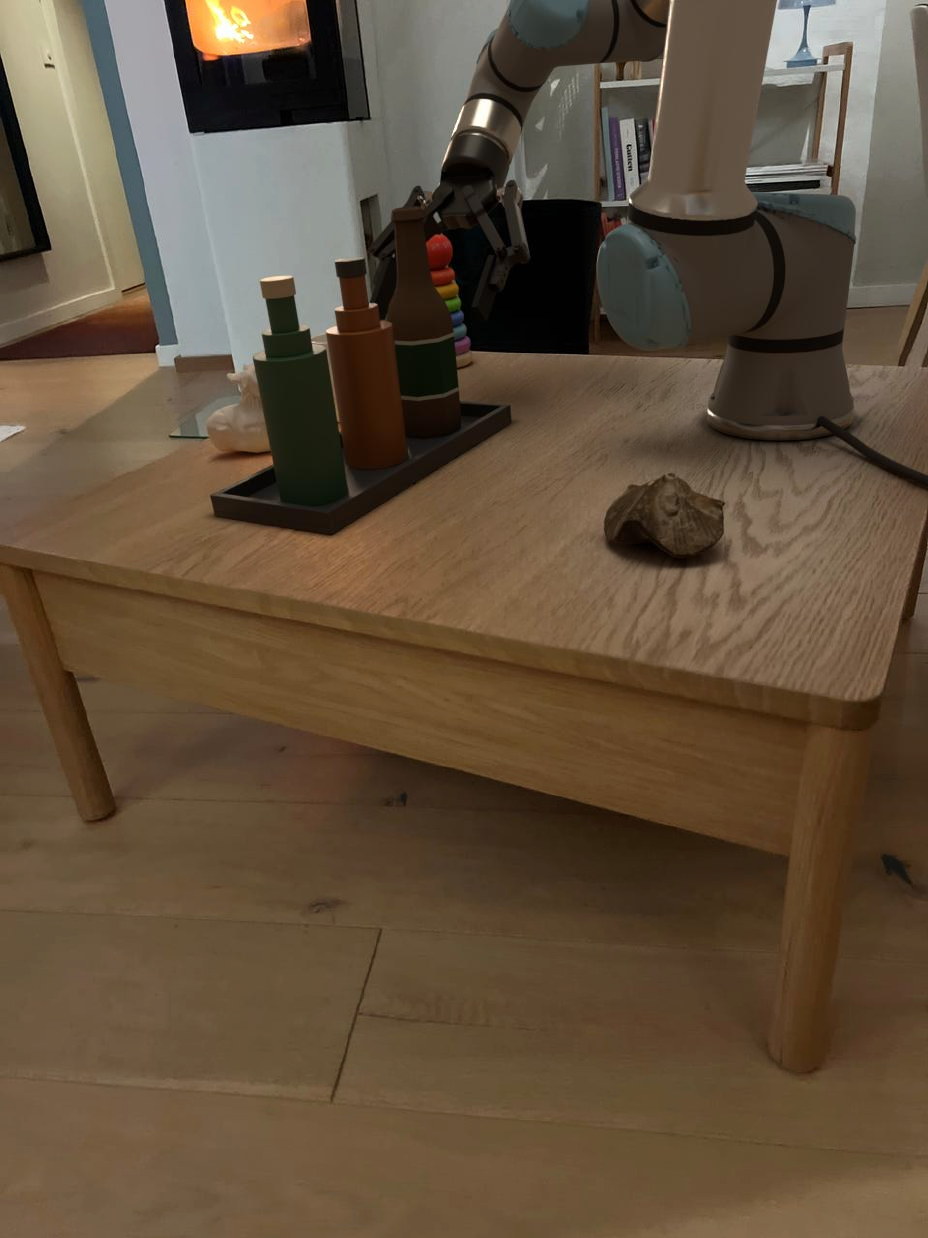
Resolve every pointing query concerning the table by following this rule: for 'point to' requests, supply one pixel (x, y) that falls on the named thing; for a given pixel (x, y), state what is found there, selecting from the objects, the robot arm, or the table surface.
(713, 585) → the table surface
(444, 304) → the beer bottle
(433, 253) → the stacking toy
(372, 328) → the bottle mid
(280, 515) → the tray
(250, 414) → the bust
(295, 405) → the bottle far
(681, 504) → the fossilized seashell
